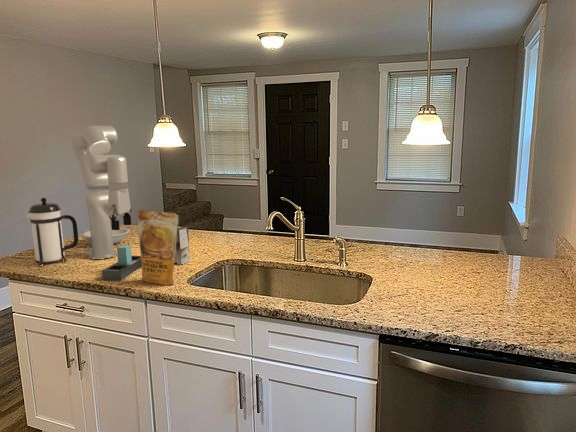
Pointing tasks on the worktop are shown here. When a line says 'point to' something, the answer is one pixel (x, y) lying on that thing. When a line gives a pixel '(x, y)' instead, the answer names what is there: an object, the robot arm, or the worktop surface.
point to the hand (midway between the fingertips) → (121, 227)
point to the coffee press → (49, 232)
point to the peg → (124, 255)
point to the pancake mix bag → (157, 245)
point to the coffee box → (182, 246)
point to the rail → (121, 269)
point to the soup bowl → (117, 235)
